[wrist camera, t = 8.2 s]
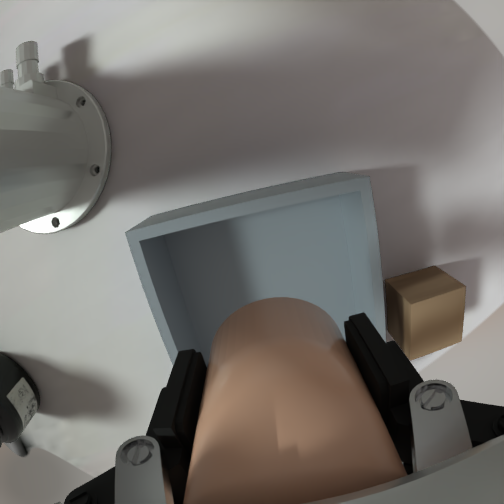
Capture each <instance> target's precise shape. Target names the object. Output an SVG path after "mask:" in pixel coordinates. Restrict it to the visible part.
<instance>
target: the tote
mask: <svg viewBox="0 0 504 504" xmlns="http://www.w3.org/2000/svg"><path fill="white" fill-rule="evenodd" d="M125 233H126V237H127V240H128V243H129V247H130V250H131V253H132V256H133V259H134V262H135V265H136V268H137V271H138V274H139V277H140V280H141V283H142V286H143V289H144V292H145V294H146V297H147V300H148V303H149V306H150V308H151V311H152V314H153V316H154V319H155V322H156V324H157V327H158V329H159V332H160V335H161V337H162V340H163V342H164V345H165V347H166V349H167V352H168V354H169V357H170V359H171V362H172V364H173V365H174V363H175V360H176V357H177V354H178V352H179V351H182V350H189V349H195V351H196V352H201V353H202V356H203V359H204V361H205V364H206V367H207V366H208V361H209V355H210V350H211V345H212V341H213V338H214V336H215V334H216V332H217V330H218V328H219V327H220V326H221V324H222V323H223V322H224V321H225V320H226V319H227V318H228V317H229V316H230V315H231V314H232V313H234V312H235V311H236V310H238V309H240V308H241V307H243V306H245V305H247V304H250V303H252V302H255V301H258V300H262V299H267V298H273V297H289V298H296V299H301V300H304V301H307V302H310V303H312V304H314V305H316V306H318V307H320V308H321V309H323V310H324V311H326V312H327V313H328V314H329V315H330V316H331V317H332V318H333V320H334V321H335V322H336V324H337V326H338V327H339V329H340V331H341V333H342V335H343V337H344V339H345V341H346V338H345V329H344V321H348V320H349V316H351V315H355V314H359V313H363V312H364V313H365V314H366V315H367V317H368V318H369V319H370V321H371V322H372V324H373V325H374V327H375V328H376V330H377V331H378V332H379V334H380V335H381V337H382V338H383V340H384V341H385V343H386V328H385V308H384V292H383V279H382V268H381V258H380V248H379V239H378V231H377V223H376V216H375V209H374V202H373V196H372V189H371V183H370V177H369V176H365V175H359V174H352V173H346V172H339V173H334V174H329V175H324V176H318V177H313V178H309V179H304V180H299V181H294V182H289V183H285V184H280V185H275V186H271V187H266V188H262V189H257V190H253V191H248V192H244V193H240V194H236V195H231V196H227V197H223V198H219V199H215V200H211V201H207V202H203V203H199V204H195V205H191V206H187V207H183V208H179V209H175V210H172V211H168V212H164V213H160V214H157V215H153V216H151V217H149V218H147V219H146V220H144V221H142V222H141V223H139V224H138V225H136V226H135V227H133V228H131V229H130V230H128V231H127V232H125Z"/></svg>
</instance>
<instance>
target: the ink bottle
mask: <svg viewBox="0 0 504 504" xmlns="http://www.w3.org/2000/svg"><path fill="white" fill-rule="evenodd" d="M39 405H40V397H39V393H38V390H37V388H36V386H35V384H34V382H33V381H32V379H31V378H30V377H29V375H28V374H27V373H26V372H25V371H24V370H23V369H22V368H21V367H20V366H19V365H18V364H17V363H15V362H14V361H13V360H12V359H10V358H9V357H7V356H5V355H3V354H0V447H1V445H2V443H3V442H4V443H12V442H15V441H16V440H17V439H18V438H19V436H20V435H21V433H22V432H23V431H24V429H25V428H26V426H27V425H28V423H29V422H30V420H31V419H32V417H33V416H34V414H35V413H36V411H37V410H38V408H39Z"/></svg>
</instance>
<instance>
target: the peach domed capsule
mask: <svg viewBox="0 0 504 504" xmlns="http://www.w3.org/2000/svg"><path fill="white" fill-rule="evenodd" d="M404 476H407V473H406V470H405V468H404V466H403V463H402V461H401V459H400V457H399V454H398V452H397V450H396V448H395V445H394V443H393V441H392V439H391V436H390V434H389V432H388V430H387V427H386V425H385V423H384V421H383V419H382V417H381V414H380V412H379V410H378V408H377V406H376V404H375V401H374V399H373V397H372V395H371V393H370V391H369V389H368V387H367V384H366V382H365V380H364V378H363V376H362V374H361V372H360V370H359V368H358V366H357V364H356V362H355V360H354V357H353V355H352V353H351V351H350V349H349V347H348V345H347V343H346V341H345V339H344V337H343V335H342V333H341V331H340V329H339V327H338V326H337V324H336V322H335V321H334V320H333V318H332V317H331V316H330V315H329V314H328V313H327V312H326V311H324V310H323V309H321V308H320V307H318V306H316V305H314V304H312V303H310V302H307V301H304V300H301V299H296V298H289V297H273V298H267V299H262V300H258V301H255V302H252V303H250V304H247V305H245V306H243V307H241V308H240V309H238V310H236V311H235V312H234V313H232V314H231V315H230V316H229V317H228V318H227V319H226V320H225V321H224V322H223V323H222V324H221V326H220V327H219V328H218V330H217V332H216V334H215V336H214V338H213V341H212V345H211V350H210V355H209V361H208V366H207V371H206V376H205V382H204V387H203V393H202V398H201V403H200V409H199V414H198V420H197V426H196V431H195V437H194V443H193V448H192V454H191V460H190V466H189V472H188V477H187V483H186V489H185V496H184V502H183V504H303V503H308V502H313V501H318V500H323V499H328V498H332V497H336V496H341V495H345V494H349V493H353V492H356V491H360V490H364V489H367V488H370V487H374V486H377V485H380V484H384V483H387V482H390V481H393V480H396V479H399V478H401V477H404Z"/></svg>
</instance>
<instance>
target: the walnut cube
mask: <svg viewBox="0 0 504 504" xmlns="http://www.w3.org/2000/svg"><path fill="white" fill-rule="evenodd" d="M385 287H386V303H387V325H388V332H389V333H390V334H391V336H392V337H393V338H394V340H395V341H396V342H397V344H398V345H399V346H400V348H401V349H402V350H403V352H404V353H405V355H406V356H407V357H408V359H409V360H413V359H416V358H419V357H422V356H425V355H427V354H430V353H433V352H435V351H438V350H441V349H443V348H446V347H448V346H451V345H453V344H456V343H458V342H461V341H462V332H463V322H464V309H465V293H466V286H465V285H463V284H462V283H460V282H459V281H457V280H456V279H454V278H453V277H451V276H450V275H448V274H447V273H445V272H444V271H442V270H441V269H439V268H438V267H436V266H432V267H428V268H425V269H421V270H418V271H414V272H411V273H407V274H404V275H400V276H396V277H393V278H389V279H385Z"/></svg>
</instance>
